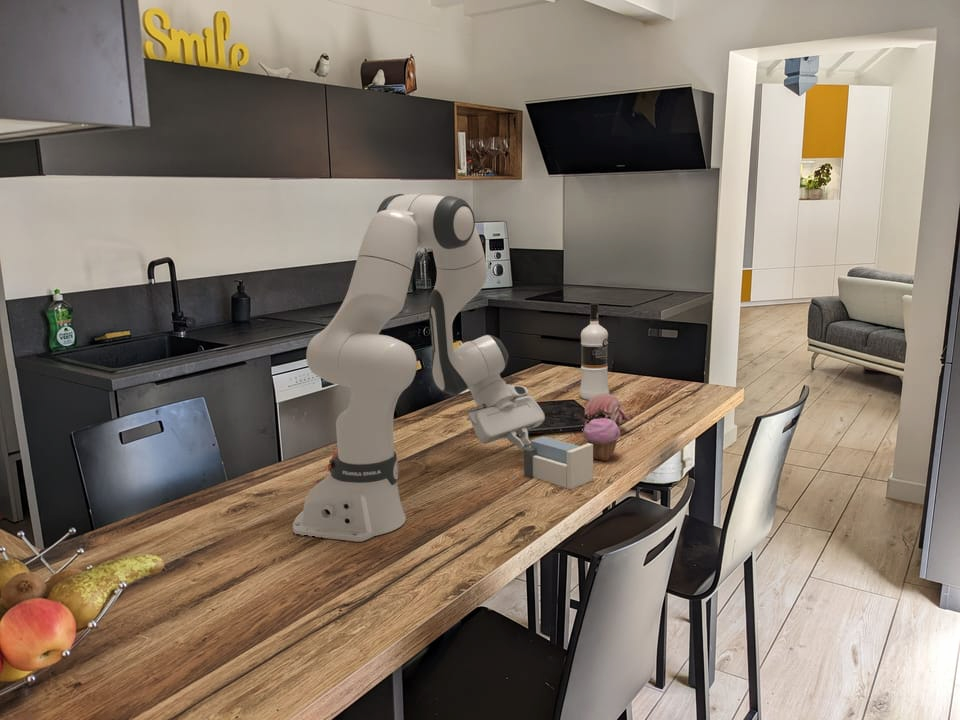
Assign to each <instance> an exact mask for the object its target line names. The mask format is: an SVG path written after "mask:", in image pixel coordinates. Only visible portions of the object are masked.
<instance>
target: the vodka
mask: <svg viewBox="0 0 960 720" xmlns="http://www.w3.org/2000/svg"><path fill="white" fill-rule="evenodd" d="M599 305H600V304H599V303H597V302H591V303H590V304H589V315H590V316H589V324H588V325H587V326H585V327H584V328H583V329H582V330H581V332H580V345H581V366H580V369H581V371H580V372H581V373H580V374H581V378H580V388H579V396H580V398H582V400H586V401H589V400H590V399H591V398H592V397H594V396H595V395H598V394H604V393H608V394H610V389H609V381H608V379H609V378H608V369H609V368H608V367H609V366H608V344H609V342H608V337H609V333H608V330H607V329H606V328H604V327H603V326H602V325H600V323H599Z"/></svg>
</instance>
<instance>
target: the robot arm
mask: <svg viewBox="0 0 960 720" xmlns="http://www.w3.org/2000/svg"><path fill="white" fill-rule="evenodd" d="M418 248H420V249H427V250H428V249H430V250H432V254H433V258H434V263H435V268H436V280H435V285H434V288H433V290H432V291H431V293H429V294H430V295H429V297H428V313H429V314H428V315H429V328H430V339H431V349H432V350H431V352H432V354H431V355H432V359H431V372H432V376H433V377H432V378H433V381H434V383H435V385H436V386H437V388H438V390H439V391H441V392H442V393H445V394H448V395H451V396H458V395H460V394H461V393H463V392H466V391H467V390H469V391H470V393H471V395H472V399H473V401H474V403H476V405H477V406H475V407H473V406H472V407H470V408H469V409H468V411H467V417H468V419H469V420H470V422H471V425H472V427H473V431H474V432H475V435H476V437H477V438H478V440H479V442H480V443H482V444H483V445H486V444H489V443H490V444H491V443H492V442H495V441H498V440H501V439H504V438H507V440H508V442H510V443H512V444H513V445H515V446H516V447H517V449H518V450H519V451H522V450H523V451H524V449H526V448H529V447H531V440H530V439H529V431H528V430H532V429H534V428H537V427H540V425H541V424H543V422H545V418H546V416H545V415H546V414H545V412H544V411H543V409H542V408H541V407H540V405H539V404H538V403H537V401H536V399H534V397H532V396H531V395H528V394H530V393H529V392H530V391H529V389H528V388H527V387H526V386H522V385H513V384H509V383H508V384H507V382H506V381H505V380H504V379H503V378H502V377H501V373H503V372H504V370H505V369H506V366H507V364H508V360H509V352H508V350H507V348H506V347H505V345H504V343H503V342H502V341H501V339H499V338H498V337H496V336H494V335H492V334H491V335H490V334H485V335H482V336H481V337H478V338H476V339H474V340H469V341H465V342H464V343H463V342H462V343H461V344H460V345H459V346H458V347H456V348H455V349H454V338H453V322H454V320H455V318H456V316H457V315H458V313H459V312H460V311H461V310H462V309H463V308H464V307H465V306H466V304H468V303H469V302H470V301H471V300H472V299H473V298H474V297H476V296H477V295H478V294H479V292H481V290H482V289H483V288H484V285H485V283H486V281H487V276H488V266H487V262H486V261H487V259H486V256H485V252H484V248H483V244H482V241H481V238H480V235H479V232H478V230H477V227H476V220H475V214H474V211H473V209H472V208H471V205H469V204H468V202H467V201H466V200H464V199H463V198H460V197H457V196H452V195H447V196H443V195H439V194H428V193H409V194H403V193H396V194H394V195H390V196H388V197H386V198H384V199H383V201H381V203H380V204H379V206H378V208H377V210H376V214H374V216H373V218H372V219H371V221H370V223H369V225H368V227H367V229H366V232H365V234H364V237H363V239H362V241H361V245H360V248H359V252H358V254H357V258H356V262H355V266H354V269H353V273H352V276H351V280H350V283H349V287H348V290H347V293H346V295H345V297H344V299H343V302H342V303H341V305H340V307H339V308H338V310H337V312H336V313H335V315H334V317H333V318H332V319H331V321H330V322H329V323H328V324H327V326H325V328H324V329H322V330H321V331H320V332H318V333H317V334H316V335H314V336H313V337H312V338H311V340H310V341H309V343H308V346H307V348H306V352H305V353H306V354H305V355H306V358H305V360H306V363H307V367H308V368H309V370H310V371H311V372H312V374H314V375H315V376H317V377H318V378H320V379H322V380H324V381H325V382H328V383H331V384H334V385H338V386H343V387H348V388H349V389H350V396H349V397H350V398H349V403H348V406H347V408H346V409H345V410H343V411H342V412H341V413H340V414H338V416H337V419H336V422H335V428H336V429H335V430H336V442H337V443H336V444H337V450H335V452H334V453H333V454H332V456H331V458H330V459H329V463H328V464H327V467H326V468H327V472H329V473H330V474H328V475H327V476H326V477H325V478H323V479H322V480H321V481H320V482H319V483H318V484H316V485H314V487H313V488H312V489H311V490H310V491H309V492H308V494H307V495H306V498H305V501H304V505H303V510H302V511H301V512H299V514H298V515H296V517H295V519H294V520H293V523H292V533H293V534H294V533H295V534H294V535H296V534H300V535H299V536H304V535H308V536H307V537H312V536H315V537H314V538H321V537H322V538H323V539H331V540H341V541H349V542H356V543H357V542H359V543H360V542H364V541H367V540H369V539H372V538H374V537H375V536H376V537H377V536H381V535H384V534H387V533H390V532H393V531H395V530H398V529H399V528H400V527H402V526H403V525H404V524H405V522H406V520H407V515H406V513H405V511H404V508H403V505H402V500H401V496H400V491H399V486H398V478H399V466H398V465H399V463H398V460H397V459H398V458H397V453H396V451H395V445H394V444H395V443H394V442H395V441H394V415H395V414H394V413H395V410H396V405H397V403H398V400H399V398H400V396H401V395H402V393H403V392H404V391H405V390H406V389H407V388H408V387H410V385H411V384H412V383H413V381H414V378H415V376H416V373H417V369H418V364H417V363H418V360H417V355H416V353H415V350H414V349H413V348H412V346H411V345H409V344H408V343H406V342H404V341H402V340H400V339H397V338H395V337H392V336H389V335H386V334H385V335H384V334H380V333H381V331H382V329H384V327H385V325H386V324H387V323H388V322H389V321H390V320H391V319H393V318H395V316H397V315H398V314H400V313H401V311H402V310H403V308H404V306H405V301H406V298H407V294H408V291H409V286H410V282H411V278H412V275H413V271H414V267H415V261H416V257H417V256H416V255H417V249H418ZM517 435H518V436H517ZM520 437H521V438H520Z"/></svg>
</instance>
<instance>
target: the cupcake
mask: <svg viewBox="0 0 960 720" xmlns="http://www.w3.org/2000/svg"><path fill="white" fill-rule="evenodd" d="M582 433H583V437H584V439H585V440H587V444H588V443H590V444H593V460H600V461H604V462H606V461H608V460H609V459H610V457H612V456H613V454H614V451H615V450H616V446H617V442H618V440H619V439H620V437H621V431H620V428H619V425H618V426H617V424H616V423H615V422H614V421H613V420H611V419H606V418H600V419H593V420H591V421H590V422H589V423H588V424H586V425H585V424H584V427H583V431H582Z"/></svg>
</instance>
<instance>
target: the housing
mask: <svg viewBox="0 0 960 720" xmlns="http://www.w3.org/2000/svg"><path fill="white" fill-rule="evenodd" d="M579 446H580V447H577V448H575V449H572V450H570V451H567V464H564V463H561V462H557V461H554V460H551V459H547V458H544V457H540V456H537V455H536V449H534V448H531V446H530V447H528V448H525V449H523V473H524V474H523V477H527V478H530V479H531V478H535V479H538V480H540V481H545V482H547V483H550V484H553V485H556V486H558V487H559V486H560V487H562V488H566V489H569V490H573V489H575V488H578V487H580V486H582V485H585V484H588V483H589V482H591V481H594V459H593V444H590V443H588V442H587V443H585V444H583V445H579Z"/></svg>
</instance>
